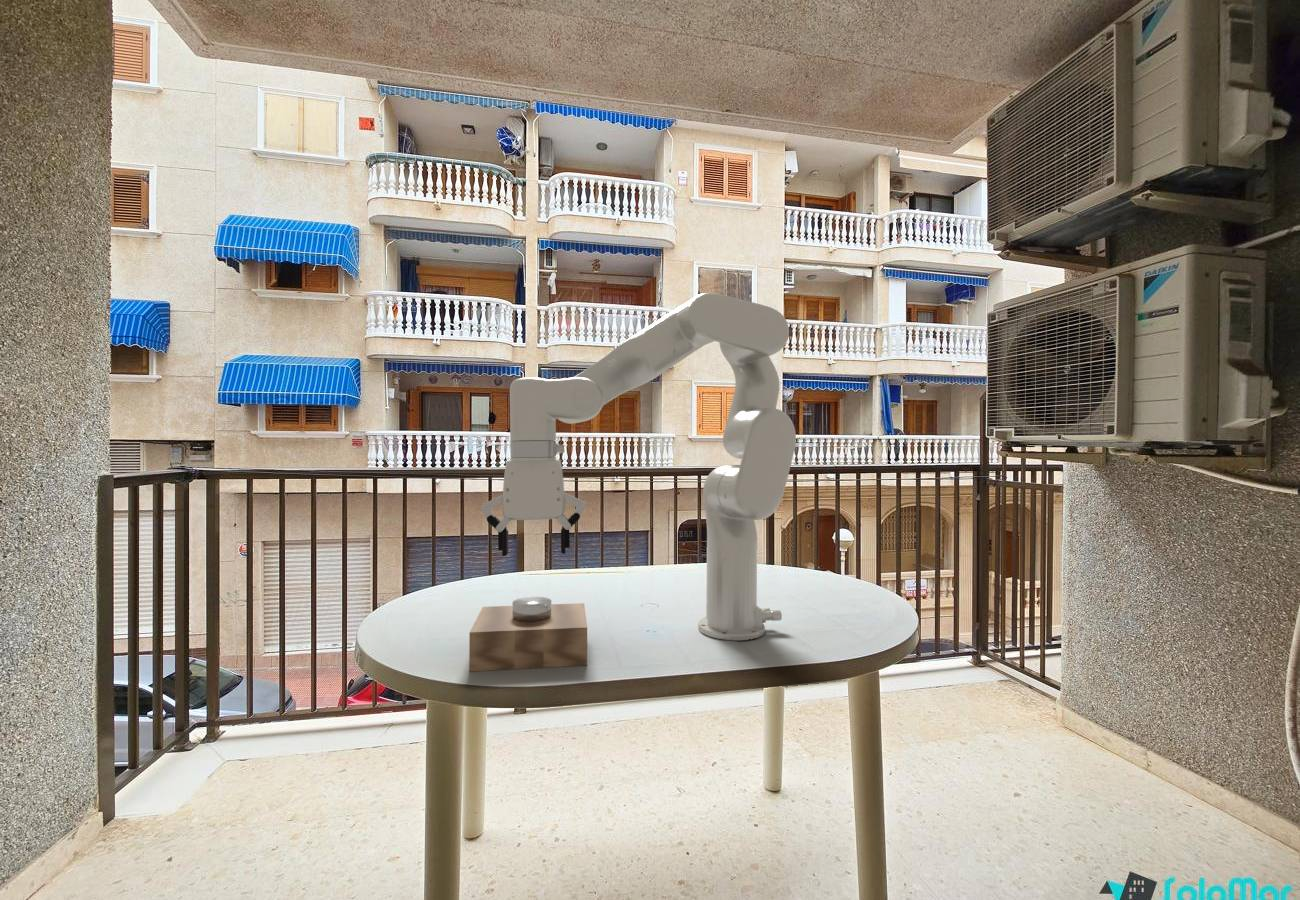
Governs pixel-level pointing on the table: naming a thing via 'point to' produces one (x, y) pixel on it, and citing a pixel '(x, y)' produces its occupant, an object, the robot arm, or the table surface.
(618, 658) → the table surface
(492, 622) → the walnut block
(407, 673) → the table surface
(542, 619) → the steel pin
